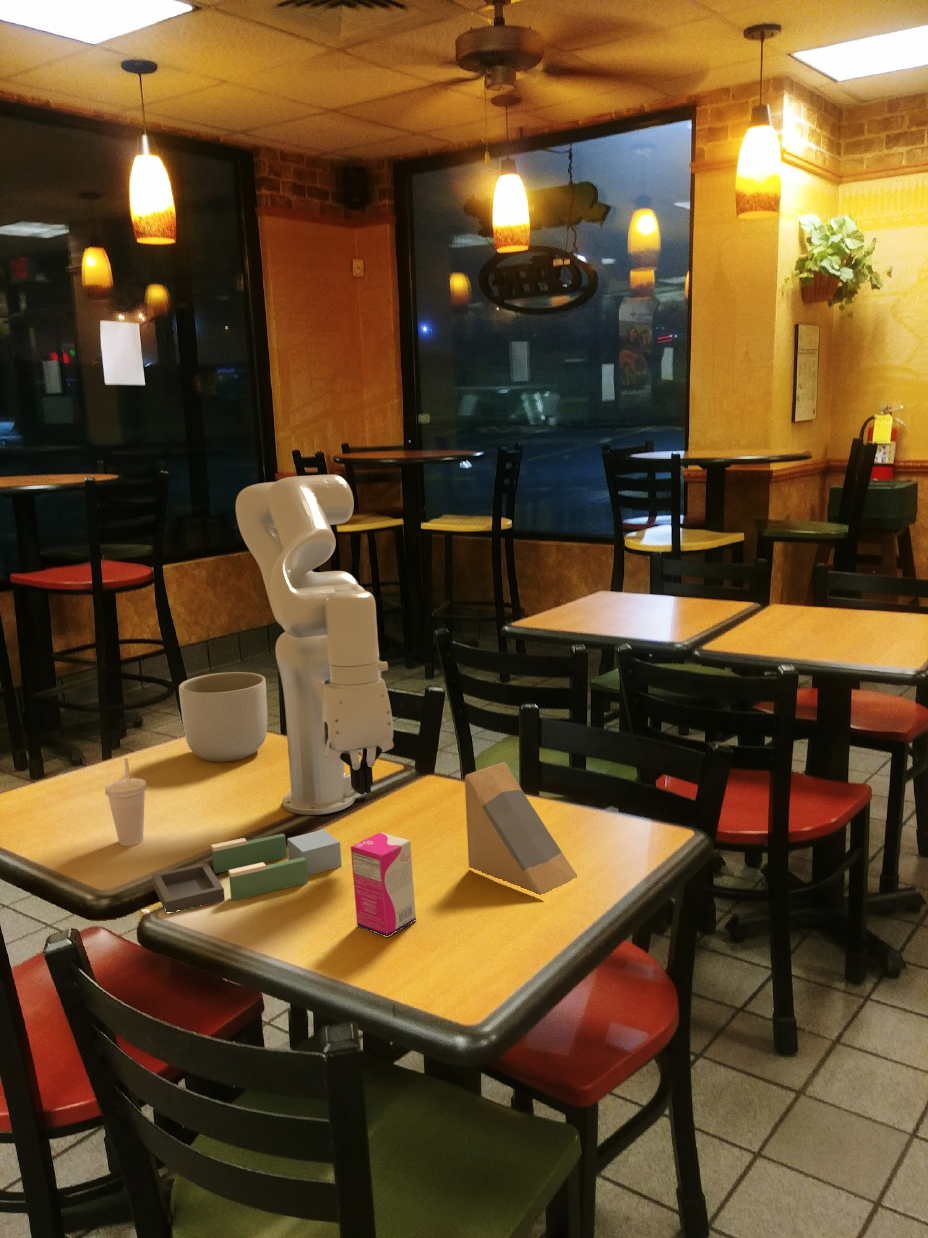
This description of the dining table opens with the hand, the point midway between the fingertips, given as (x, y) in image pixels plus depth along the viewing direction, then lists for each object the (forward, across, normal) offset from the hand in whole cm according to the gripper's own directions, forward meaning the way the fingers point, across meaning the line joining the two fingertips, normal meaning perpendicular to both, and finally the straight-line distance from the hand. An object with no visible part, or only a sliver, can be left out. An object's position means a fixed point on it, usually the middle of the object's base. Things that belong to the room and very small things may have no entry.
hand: (362, 791), depth 156 cm
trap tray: (+10, +27, -1) cm, 29 cm away
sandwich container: (+11, -17, +19) cm, 28 cm away
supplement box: (+11, +6, +22) cm, 25 cm away
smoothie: (+10, +31, -25) cm, 41 cm away
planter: (+8, +6, -61) cm, 62 cm away
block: (+10, +8, -1) cm, 13 cm away
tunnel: (+10, +16, -1) cm, 19 cm away
